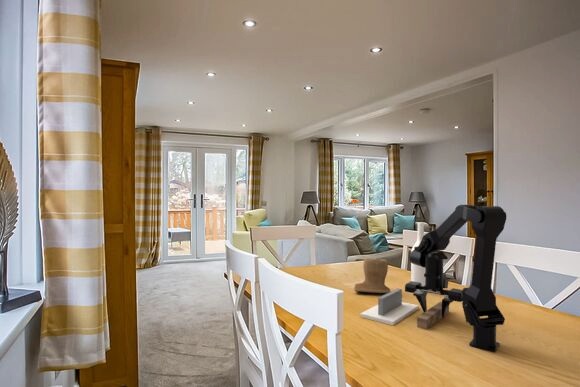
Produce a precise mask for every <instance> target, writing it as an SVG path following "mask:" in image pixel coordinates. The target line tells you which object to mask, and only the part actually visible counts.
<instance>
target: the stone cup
mask: <svg viewBox="0 0 580 387" xmlns="http://www.w3.org/2000/svg"><path fill="white" fill-rule="evenodd" d="M362 266H363V274H364V281H363V282H360V283H358V282H357V283H355V284H354V290H353V291H354V292H358V293H367V294H368V293H369V294H387V293H389V292H391V289H390V288H389V287H388V286H386V282H385V280H386V278H387V275H388V270H389V268H388V267H389V263H388V260H387V259H384V258H383V259H382V258H374V257H364V260H363V265H362Z"/></svg>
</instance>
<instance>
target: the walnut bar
mask: <svg viewBox="0 0 580 387" xmlns="http://www.w3.org/2000/svg"><path fill="white" fill-rule="evenodd" d="M448 313H450V305H449V306H448V309H447V312H446V314H445V316H446V315H447V314H448ZM416 319H417V320H416V321H417V322H416V323H417V324H416V326H417V328H418V329H419V328H420V329H423V330H428V329H429V328H431V327H432V326H433V325H435V323H437V322H438V321H440V320H441V319H443V318H442V300H441V301H439V302H438V303H436V304H435V305H433V306H432V307H430V308H429V309H427V311H426V312H423V313H422V314H420V315H418V316H417V317H416Z"/></svg>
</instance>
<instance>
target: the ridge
mask: <svg viewBox="0 0 580 387" xmlns="http://www.w3.org/2000/svg"><path fill="white" fill-rule="evenodd" d="M377 298H378V299H377V300H378V302H377V304H376V305H374V306H372V307H370V308H368V309H366V310H365V311H362V312H361V313H360V316H359V317H361V318H363V319H367V320H371V321H375V322H378V323H382V324H386V325H390V326H394V325H397V323H399V322H401V321H402V320H404V319H406V318H407V317H408V316H409V315H411V314H413V313H414V312H416V311H417V310H419V305H420V304H414V303H409V302H404V301H403V289H402V288H395V289H393V290H390V292H389V293H384V294H383V295H381V296H379V297H377Z"/></svg>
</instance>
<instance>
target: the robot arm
mask: <svg viewBox="0 0 580 387" xmlns="http://www.w3.org/2000/svg"><path fill="white" fill-rule="evenodd" d="M467 222H470V223H471V229H472V231H473V233H474V234H475V244H474V245H475V246H474V254H473V255H474V256H473V267H472V273H471V274H472V275H471V276H472V277H471V284H470V286H468V287H463V288H462V289H460V288H454V287H453V288H451V289H449V290H448V287H449V278H447V277H445V273H444V260H448V259H449V257H448V256H447V255H446V254H445V253H444V251H445V250H446V249H447V247H448V246H449V244H451V243H450V242H451V238H452V236H453V235H454V234H456V233H457V232H458V231H459V230H460V229H461V228H463V226H465V225H466V223H467ZM506 222H507V212H506V211H505V210H504V209H503V208H502V207H501V206H498V205H489V206H487V205H483V206H479V205H473V204H458V205H457V206H456V207H455V209H454V210H453V211H452V213H451V214H449V215H448V217H447V218H446V219H445V220H444V221H443V222H442V223H441V224H440V225H439V226H438V227H437V228H436V229H433V230H430V231H428V232H426V233H424V236H423V237H422V240H421V242H420V244H419V246H418V247H414V250H413V251H412V252H410V254H409V257H408V258H409V261H410V264H411V263H412V264H415V265H418V266H421V267H424V268H425V274H424V277H425V286H422V284H421V283H420V282H414V281H411V280H410V281H409V282H407V283H406V284H405V285H404V292H406V293H411V294H412V296H414V297H415V298H416V300H417V301H418V303H419V305H420V307H421V309H422V312H423V313H424V312H426V311H427V310H428V308H427V307H428V306H427V294H428V293H430V294H435V295H439V296H444V298H442V299H441V302H442V318H441V319H444V318H445V316H446V315H447V314H446V312H447V309H448V306H449V307H450V304H452V303H453V302H457V303H461V304H462V310H463V314H464V318H465V322H466V323H467V324H469V326H472V330H473V331H472V334H473V335H472V339H471V341H470V342H469V343H468V345H469V346H470V347H473V348H474V347H475V348H477V349H482V350H484V351H485V350H486V351H489V352H493V353H496V351H497V350H498V349H499V347H500V342H497V326H503V325H504V323H505V320H506V318H505V316H504V315H503V313H502V312H501V310H500V309H499V307H498V305H497V297H496V295H495V294H494V291H493V289H492V284H493V283H492V281H493V274H494V272H493V271H494V262H495V253H496V245H497V244H496V243H497V239H498V237H499V236H500V235H501V233H502V232H503V230H504V228H505V224H506ZM445 314H446V315H445Z"/></svg>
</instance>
